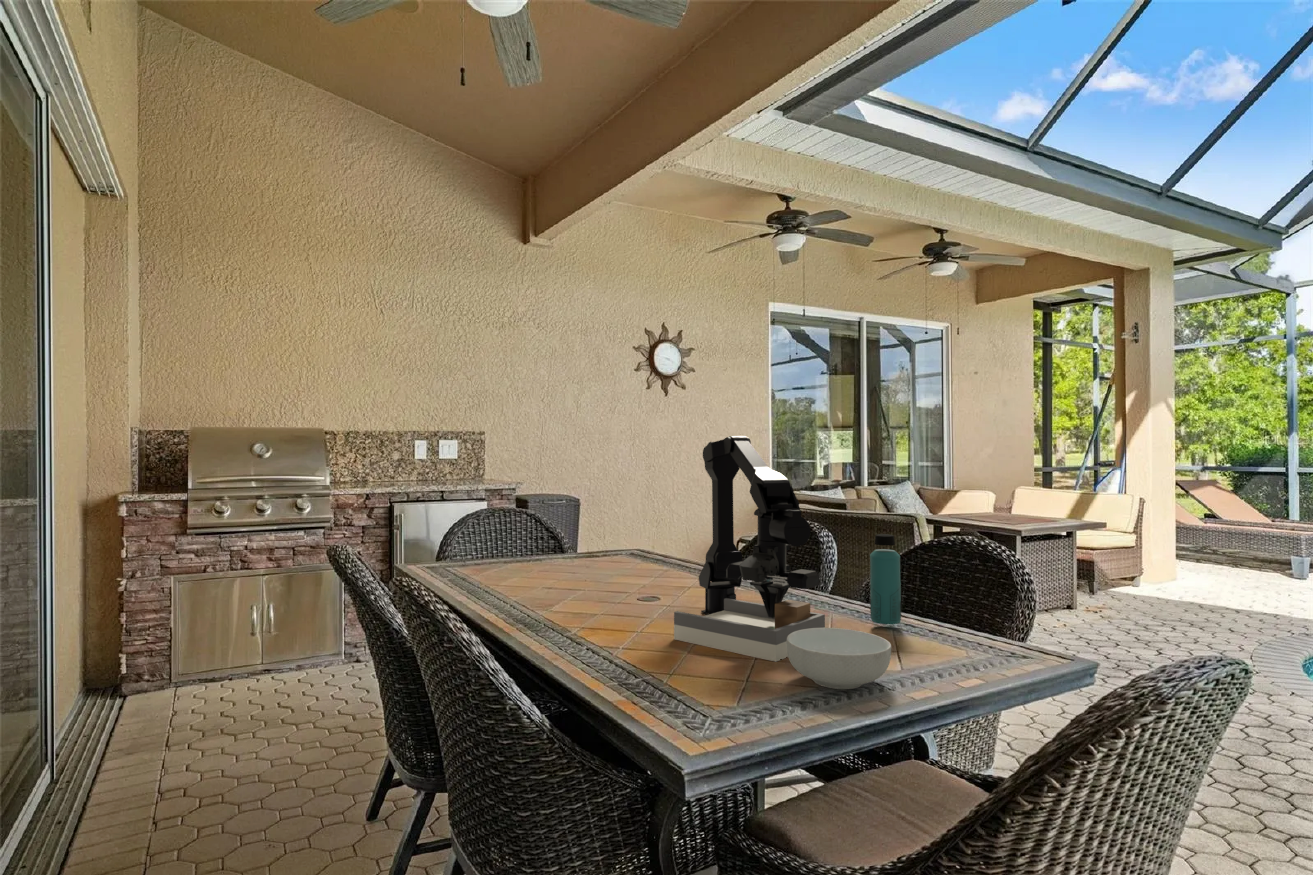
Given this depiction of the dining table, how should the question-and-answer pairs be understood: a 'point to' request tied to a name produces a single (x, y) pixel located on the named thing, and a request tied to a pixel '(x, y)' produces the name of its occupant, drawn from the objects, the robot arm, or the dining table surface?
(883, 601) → the beverage bottle
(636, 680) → the dining table surface
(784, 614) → the walnut block
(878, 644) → the cereal bowl
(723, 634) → the trap box
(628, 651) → the dining table surface
